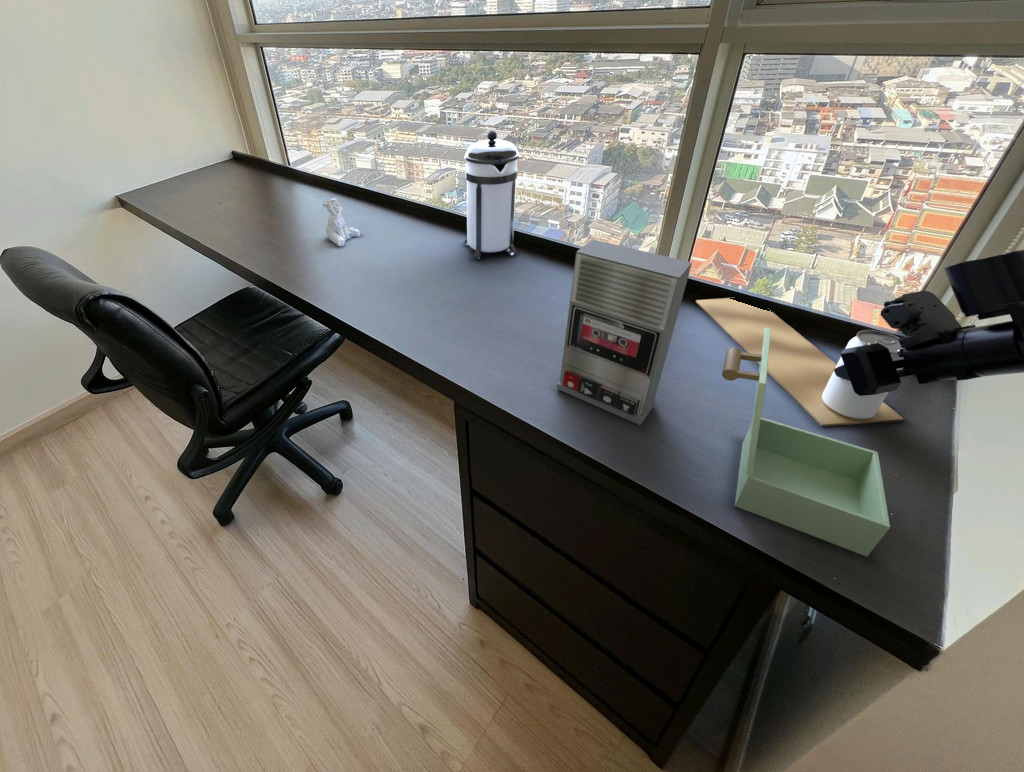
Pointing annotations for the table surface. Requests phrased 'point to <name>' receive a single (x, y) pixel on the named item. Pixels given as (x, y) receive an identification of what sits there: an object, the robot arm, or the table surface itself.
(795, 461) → the chest
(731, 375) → the chest lid
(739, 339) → the tan flat long board
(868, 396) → the can
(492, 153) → the coffee press
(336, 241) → the sitting furry creature
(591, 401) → the cassette tape recorder
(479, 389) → the table surface
